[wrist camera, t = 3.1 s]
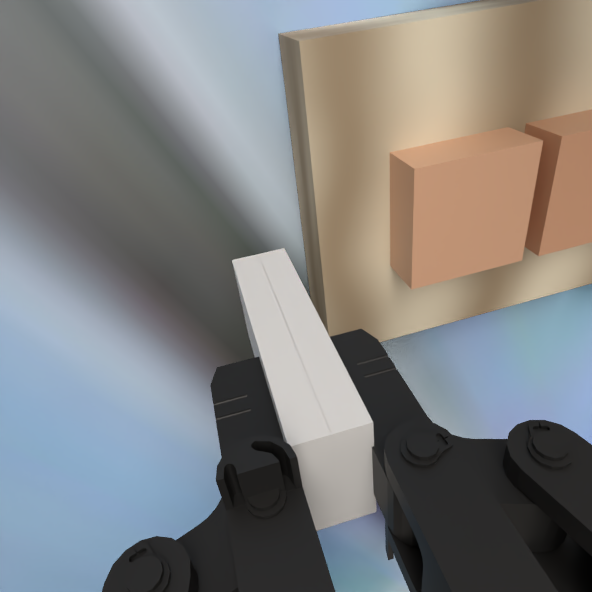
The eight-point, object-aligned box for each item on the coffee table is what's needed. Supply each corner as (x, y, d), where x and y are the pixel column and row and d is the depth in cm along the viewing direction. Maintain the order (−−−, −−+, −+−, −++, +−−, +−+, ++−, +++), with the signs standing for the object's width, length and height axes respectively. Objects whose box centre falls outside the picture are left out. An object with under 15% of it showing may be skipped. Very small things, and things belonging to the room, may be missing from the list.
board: (313, 322, 22) (330, 355, 20) (278, 33, 16) (299, 41, 14) (573, 253, 25) (612, 277, 23) (641, -27, 18) (706, -28, 16)
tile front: (390, 266, 19) (411, 289, 17) (389, 152, 16) (414, 168, 15) (493, 239, 19) (521, 260, 18) (508, 127, 17) (543, 140, 15)
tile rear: (508, 236, 20) (538, 256, 18) (526, 123, 17) (562, 136, 16) (603, 212, 20) (639, 229, 19) (633, 100, 18) (678, 110, 16)
